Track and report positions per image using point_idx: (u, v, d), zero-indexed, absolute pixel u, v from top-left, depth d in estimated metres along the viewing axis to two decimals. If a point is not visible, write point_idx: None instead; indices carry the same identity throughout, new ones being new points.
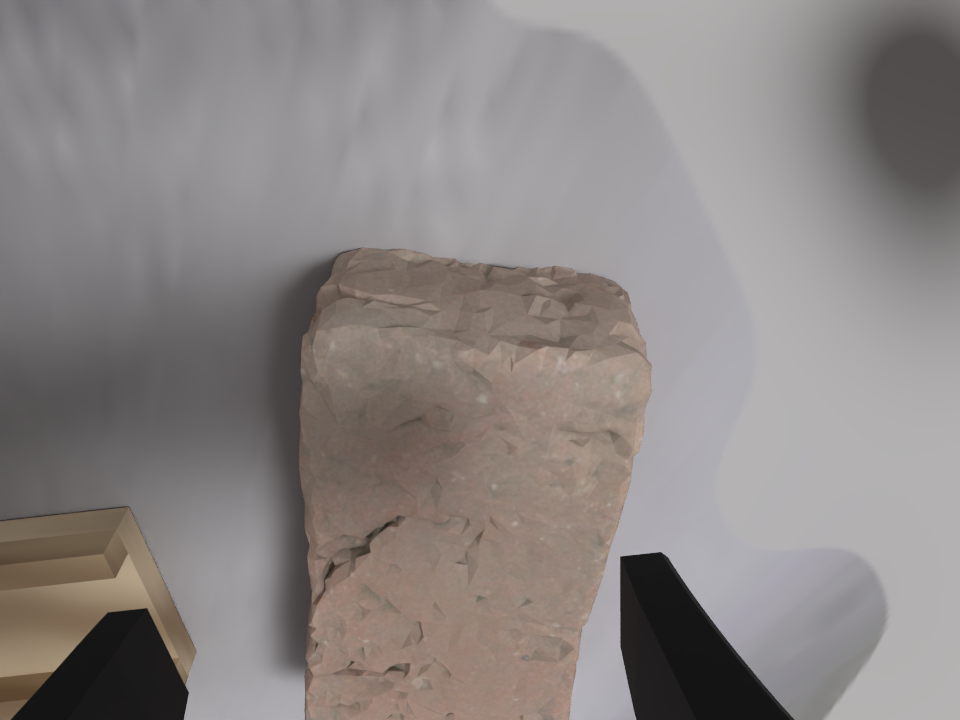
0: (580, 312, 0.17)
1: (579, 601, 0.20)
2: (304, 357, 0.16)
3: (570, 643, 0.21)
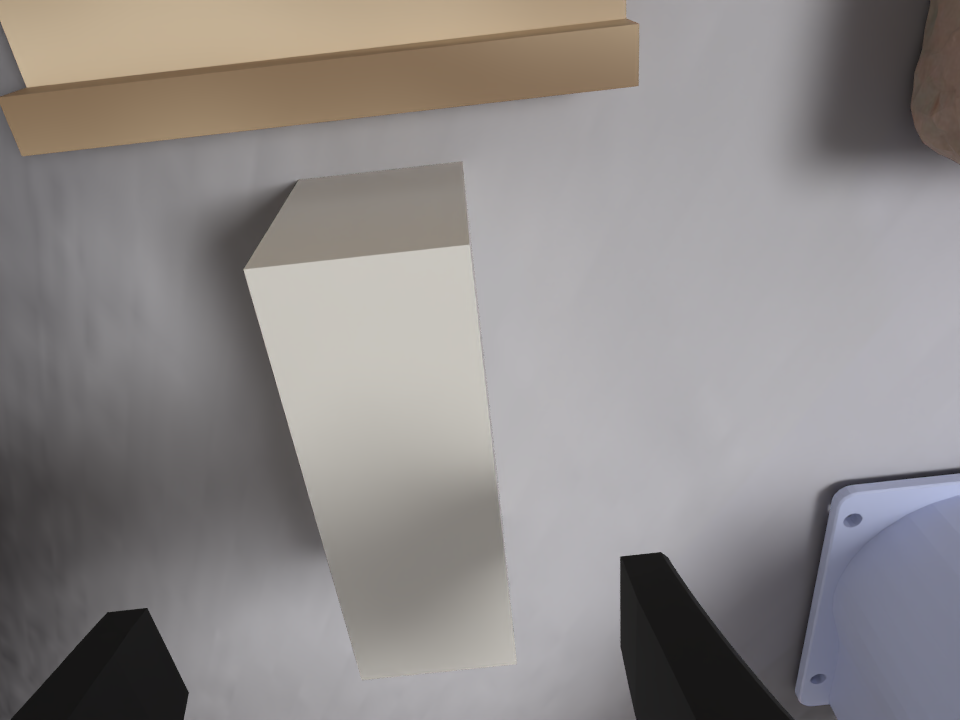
0: None
1: None
2: None
3: None
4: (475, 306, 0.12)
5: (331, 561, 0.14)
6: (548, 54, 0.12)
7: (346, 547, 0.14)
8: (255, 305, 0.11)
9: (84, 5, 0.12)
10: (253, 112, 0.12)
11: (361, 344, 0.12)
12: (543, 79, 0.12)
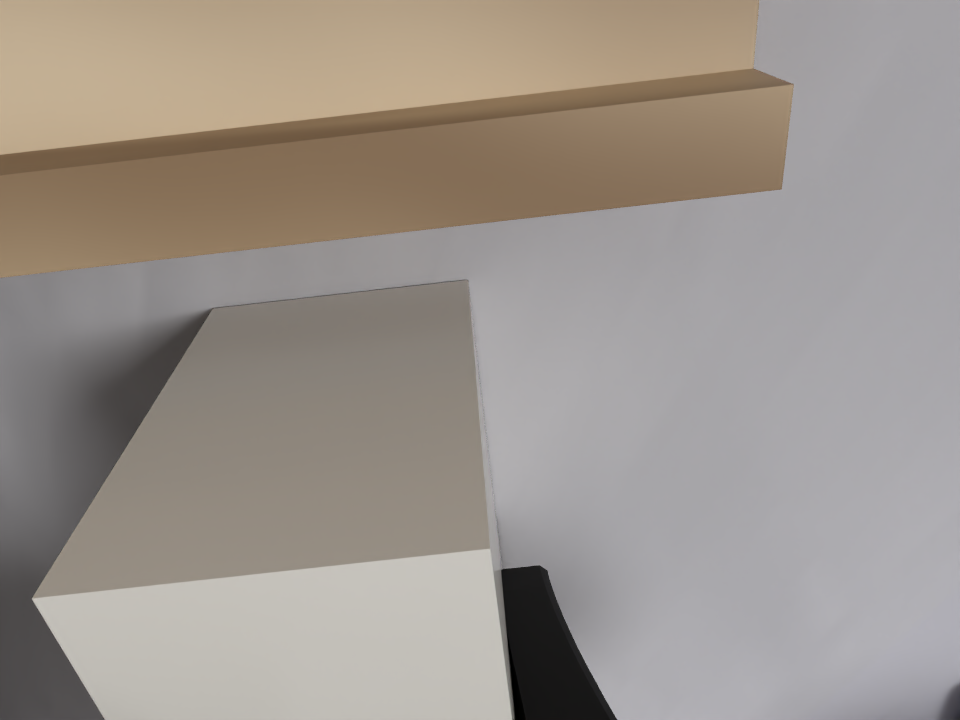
0: None
1: None
2: None
3: None
4: (500, 640, 0.06)
5: None
6: (627, 137, 0.07)
7: None
8: (67, 651, 0.06)
9: None
10: (104, 237, 0.07)
11: (283, 700, 0.06)
12: (616, 179, 0.07)
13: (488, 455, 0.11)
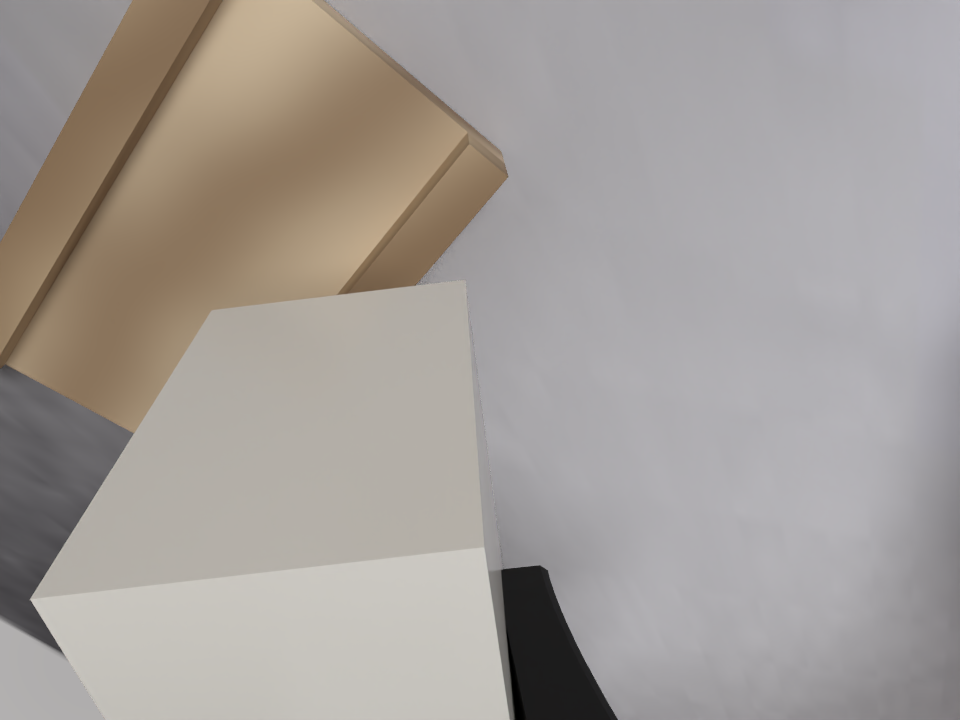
0: None
1: None
2: None
3: None
4: (495, 638, 0.06)
5: None
6: (432, 214, 0.14)
7: None
8: (66, 651, 0.06)
9: None
10: None
11: (279, 699, 0.06)
12: (444, 230, 0.15)
13: (487, 454, 0.11)
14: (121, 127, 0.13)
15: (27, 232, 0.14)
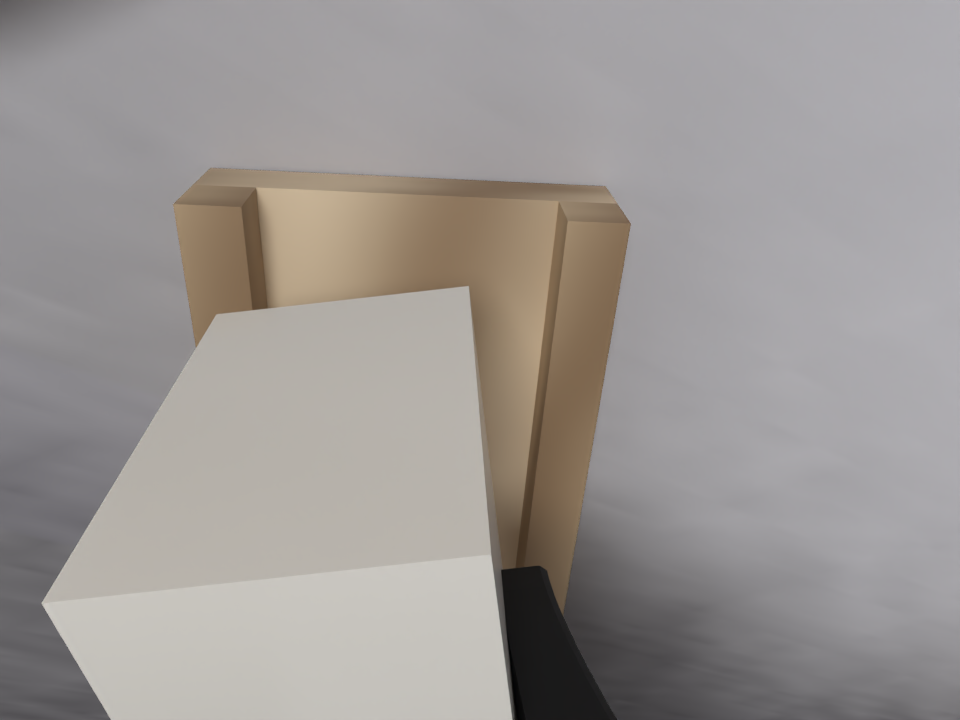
0: None
1: None
2: None
3: None
4: (500, 643, 0.06)
5: None
6: (575, 311, 0.12)
7: None
8: (75, 655, 0.06)
9: None
10: (561, 540, 0.15)
11: (286, 702, 0.06)
12: (597, 317, 0.12)
13: None
14: None
15: None
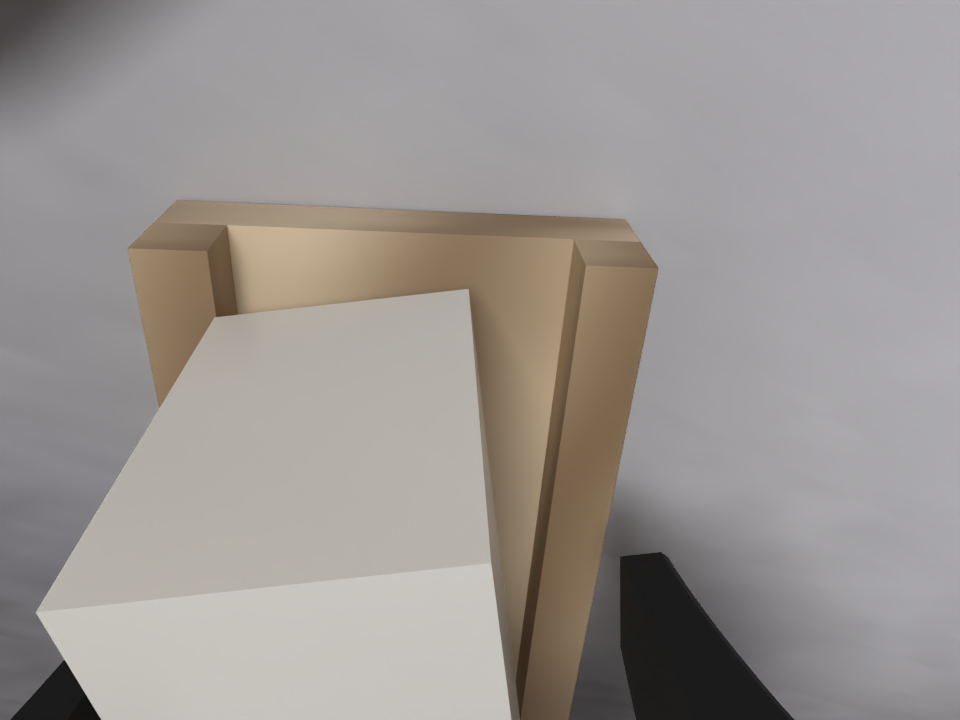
0: None
1: None
2: None
3: None
4: (500, 652, 0.06)
5: None
6: (593, 365, 0.10)
7: None
8: (70, 664, 0.06)
9: None
10: (574, 610, 0.13)
11: (285, 711, 0.06)
12: (618, 372, 0.11)
13: None
14: None
15: None
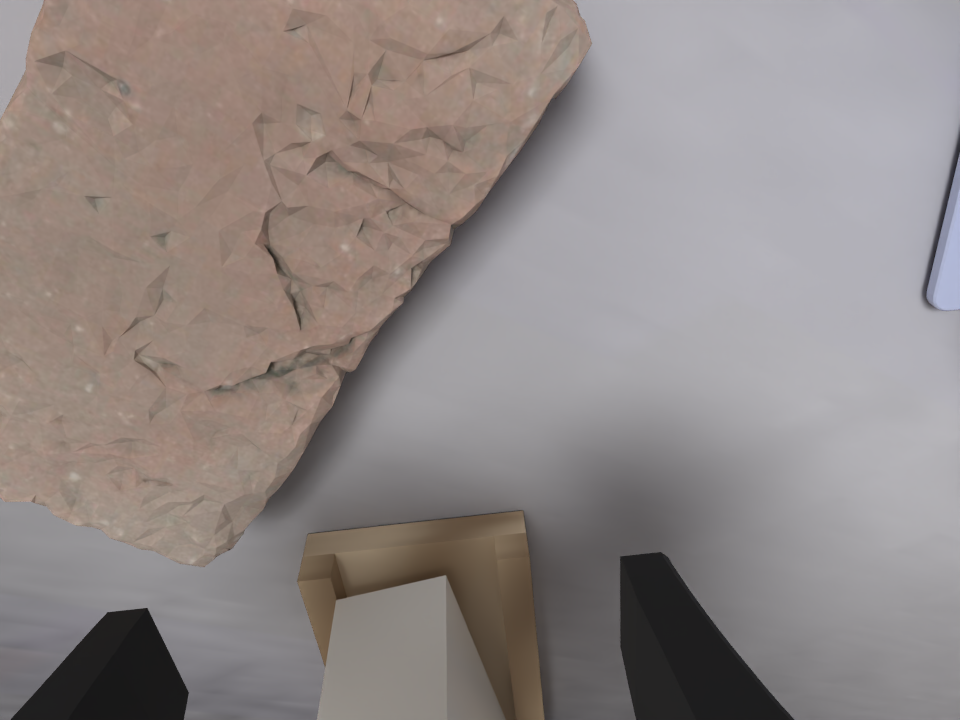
0: None
1: (12, 160, 0.13)
2: (229, 548, 0.19)
3: (41, 77, 0.12)
4: None
5: None
6: (510, 594, 0.22)
7: None
8: None
9: None
10: (533, 697, 0.25)
11: None
12: (523, 595, 0.22)
13: (470, 642, 0.23)
14: None
15: None
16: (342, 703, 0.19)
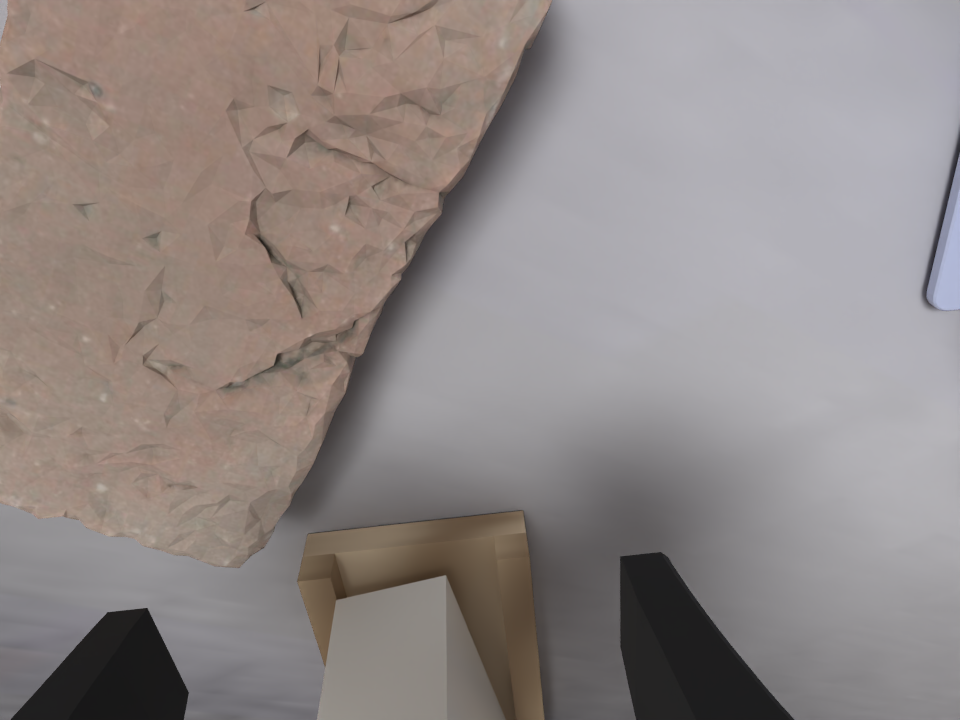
0: None
1: None
2: (261, 547, 0.19)
3: (15, 89, 0.12)
4: None
5: None
6: (510, 594, 0.22)
7: None
8: None
9: None
10: (533, 697, 0.25)
11: None
12: (523, 595, 0.22)
13: (470, 642, 0.23)
14: None
15: None
16: (342, 703, 0.19)
